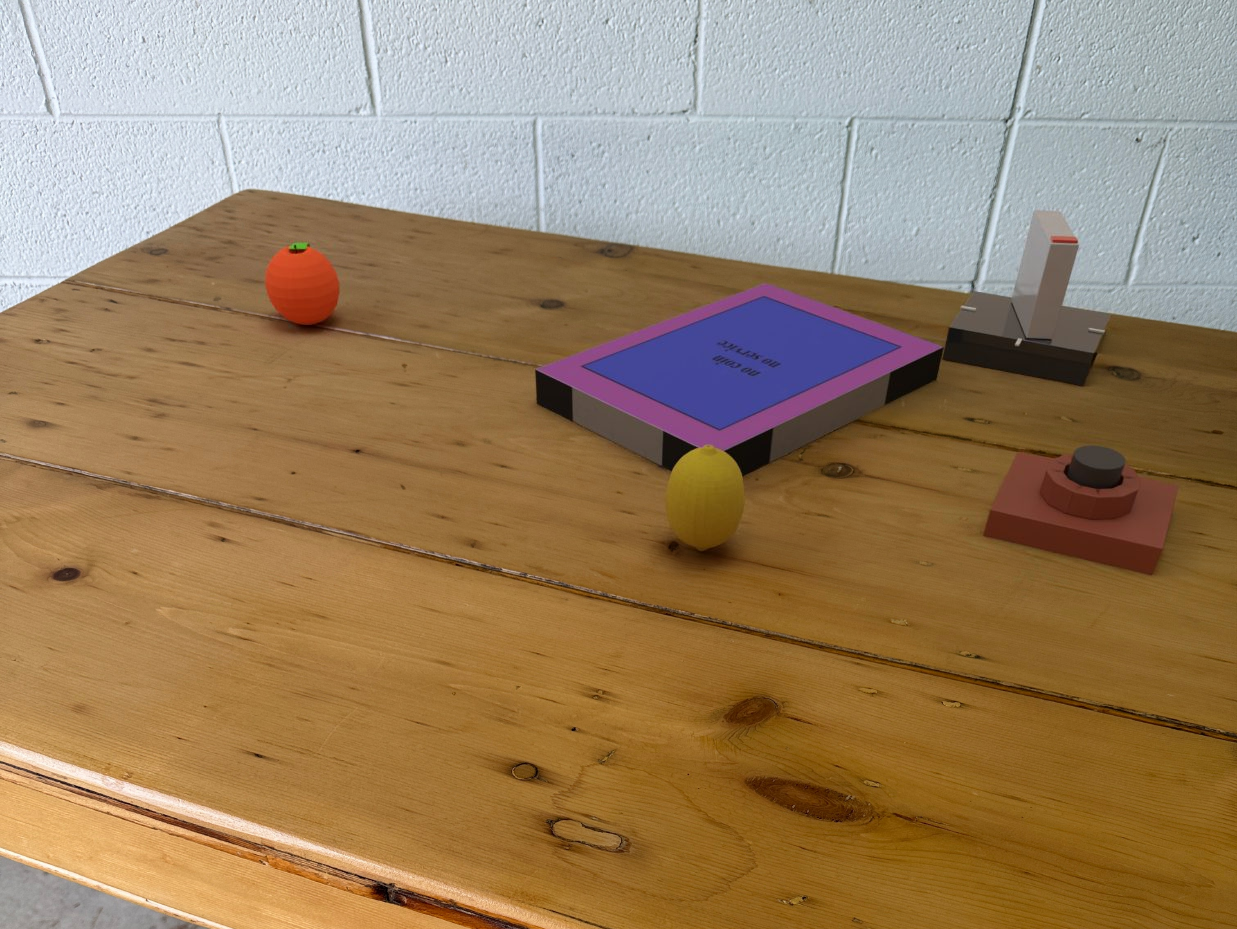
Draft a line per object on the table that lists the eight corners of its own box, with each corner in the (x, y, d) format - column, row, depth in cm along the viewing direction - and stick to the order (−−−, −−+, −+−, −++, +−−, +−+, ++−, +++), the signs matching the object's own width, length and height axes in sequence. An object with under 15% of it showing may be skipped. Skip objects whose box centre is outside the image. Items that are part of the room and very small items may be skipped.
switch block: (1168, 511, 85) (1187, 462, 82) (1152, 575, 78) (1172, 525, 76) (1010, 477, 88) (1024, 429, 86) (982, 536, 82) (996, 486, 79)
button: (1121, 474, 81) (1129, 451, 80) (1113, 496, 79) (1122, 473, 78) (1071, 463, 83) (1078, 441, 81) (1062, 485, 80) (1069, 462, 79)
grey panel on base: (1010, 300, 107) (1034, 206, 101) (1036, 302, 106) (1061, 207, 101) (1025, 338, 100) (1051, 240, 94) (1052, 339, 100) (1080, 241, 94)
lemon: (746, 536, 82) (756, 433, 76) (731, 576, 78) (740, 470, 72) (673, 525, 83) (678, 422, 77) (655, 564, 79) (658, 459, 73)
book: (943, 346, 99) (714, 455, 84) (936, 379, 101) (711, 491, 86) (766, 282, 110) (535, 369, 95) (763, 314, 112) (536, 403, 97)
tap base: (1104, 340, 108) (1115, 306, 105) (1082, 393, 99) (1093, 357, 97) (969, 316, 112) (976, 283, 109) (936, 365, 103) (944, 331, 101)
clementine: (286, 304, 112) (271, 228, 107) (354, 305, 112) (342, 229, 107) (265, 335, 107) (248, 257, 102) (336, 337, 107) (323, 258, 102)
